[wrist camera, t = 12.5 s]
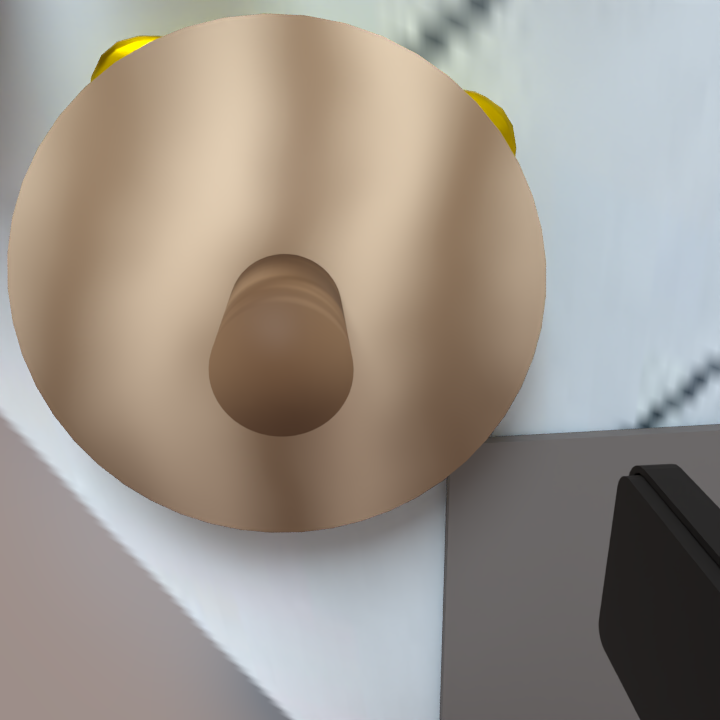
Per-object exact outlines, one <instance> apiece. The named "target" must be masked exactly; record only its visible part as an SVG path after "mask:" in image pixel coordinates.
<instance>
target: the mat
mask: <svg viewBox="0 0 720 720" xmlns="http://www.w3.org/2000/svg"><path fill="white" fill-rule="evenodd" d="M656 464H676V465H678V466H679V467H680V468H682V470H683V471H684V472H685V473H686V474H687V475H688V476H689V477H690V478H691V479H692V480H693V481H694V482H695V483H696V484H697V485H698V486H699V487H700V488H701V489H702V490H703V491H704V492H705V493H706V495H707V496H708V497H709V498H710V499H711V500H712V501H713V502H714V503H715V504H716V505H717V506H718V507H719V508H720V424H715V425H697V426H680V427H662V428H644V429H626V430H608V431H590V432H572V433H554V434H536V435H518V436H500V437H488V439H487V440H486V441H485V442H484V443H483V444H482V445H481V446H480V447H479V448H478V449H477V450H476V451H475V452H474V454H473V455H472V456H471V457H470V458H469V459H468V460H467V461H466V462H465V463H463V464H462V465H461V466H460V467H459V468H457V469H456V470H455V471H454V472H453V473H451V474H450V475H449V476H448V477H447V498H446V530H445V563H444V595H443V628H442V660H441V692H440V720H640V719H639V717H638V715H637V713H636V711H635V709H634V707H633V705H632V703H631V701H630V699H629V697H628V695H627V693H626V691H625V689H624V688H623V686H622V684H621V682H620V680H619V678H618V676H617V674H616V672H615V670H614V668H613V666H612V664H611V662H610V660H609V658H608V656H607V654H606V653H605V651H604V648H603V646H602V643H601V640H600V635H599V626H598V624H599V614H600V607H601V600H602V593H603V586H604V578H605V571H606V564H607V557H608V550H609V543H610V535H611V528H612V521H613V514H614V507H615V499H616V492H617V486H618V481H619V480H620V478H621V477H622V476H629V473H630V471H631V469H632V468H633V467H634V466H636V465H656Z"/></svg>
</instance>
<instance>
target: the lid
mask: <svg viewBox="0 0 720 720" xmlns="http://www.w3.org/2000/svg"><path fill="white" fill-rule="evenodd" d="M7 254H8V293H9V299H10V306H11V313H12V319H13V324H14V328H15V331H16V335H17V338H18V341H19V345H20V348H21V352H22V355H23V358H24V360H25V362H26V364H27V367H28V369H29V371H30V373H31V376H32V378H33V380H34V382H35V384H36V387H37V388H38V390H39V392H40V393H41V395H42V397H43V398H44V400H45V402H46V403H47V405H48V406H49V408H50V410H51V411H52V413H53V415H54V416H55V417H56V419H57V420H58V421H59V422H60V424H61V425H62V426H63V427H64V429H65V430H66V431H67V432H68V434H69V435H70V436H71V437H72V439H73V440H74V441H75V442H76V443H77V444H78V445H79V446H80V447H81V448H82V449H83V450H84V451H85V452H86V453H87V454H88V455H89V456H90V457H91V458H92V459H93V460H94V461H95V462H96V463H97V464H98V465H100V466H101V467H102V468H104V469H105V470H106V471H107V472H109V473H110V474H111V475H113V476H114V477H115V478H116V479H118V480H119V481H120V482H122V483H123V484H124V485H126V486H128V487H129V488H131V489H133V490H134V491H136V492H138V493H139V494H141V495H143V496H144V497H146V498H148V499H149V500H151V501H153V502H156V503H158V504H160V505H162V506H164V507H167V508H169V509H171V510H173V511H175V512H178V513H180V514H183V515H186V516H189V517H192V518H195V519H198V520H201V521H204V522H207V523H211V524H216V525H220V526H225V527H230V528H235V529H240V530H250V531H261V532H305V531H313V530H321V529H329V528H335V527H339V526H343V525H347V524H351V523H355V522H359V521H363V520H366V519H368V518H371V517H374V516H377V515H379V514H382V513H385V512H388V511H390V510H392V509H394V508H396V507H398V506H400V505H402V504H404V503H406V502H409V501H411V500H413V499H415V498H417V497H418V496H420V495H421V494H423V493H424V492H426V491H428V490H429V489H431V488H432V487H434V486H435V485H437V484H438V483H440V482H441V481H443V480H444V479H445V478H447V477H448V476H449V475H450V474H451V473H453V472H454V471H455V470H456V469H457V468H459V467H460V466H461V465H462V464H463V463H465V462H466V461H467V460H468V459H469V458H470V457H471V456H472V455H473V454H474V452H475V451H476V450H477V449H478V448H479V447H480V446H481V445H482V444H483V443H484V442H485V441H486V440H487V439H488V437H489V436H490V435H491V433H492V432H493V431H494V429H495V428H496V427H497V425H498V424H499V423H500V421H501V420H502V419H503V417H504V416H505V415H506V413H507V411H508V409H509V408H510V406H511V404H512V402H513V401H514V399H515V397H516V395H517V394H518V392H519V390H520V388H521V386H522V384H523V381H524V379H525V377H526V374H527V372H528V369H529V367H530V365H531V362H532V360H533V357H534V353H535V349H536V346H537V342H538V338H539V335H540V331H541V327H542V320H543V313H544V305H545V298H546V259H545V251H544V243H543V236H542V229H541V225H540V221H539V217H538V214H537V210H536V206H535V203H534V199H533V195H532V193H531V191H530V188H529V186H528V184H527V181H526V179H525V176H524V174H523V172H522V169H521V167H520V165H519V163H518V161H517V159H516V157H515V156H514V154H513V152H512V151H511V149H510V147H509V146H508V144H507V142H506V141H505V139H504V137H503V136H502V134H501V132H500V131H499V130H498V128H497V127H496V126H495V125H494V123H493V122H492V121H491V120H490V118H489V117H488V116H487V115H486V113H485V112H484V111H483V110H482V108H481V107H480V106H479V105H478V103H477V102H476V101H474V100H473V99H472V98H471V97H470V96H469V95H468V94H467V93H466V92H465V91H464V90H463V89H462V88H461V87H460V86H459V85H458V84H456V83H455V82H454V81H453V80H452V79H451V78H450V77H449V76H448V75H446V74H445V73H443V72H442V71H440V70H439V69H438V68H436V67H435V66H433V65H432V64H431V63H429V62H428V61H426V60H425V59H424V58H422V57H421V56H419V55H418V54H416V53H414V52H412V51H410V50H408V49H406V48H404V47H402V46H400V45H399V44H397V43H395V42H393V41H391V40H389V39H387V38H385V37H383V36H380V35H377V34H374V33H372V32H369V31H366V30H363V29H360V28H357V27H354V26H352V25H349V24H346V23H341V22H336V21H331V20H326V19H321V18H315V17H310V16H304V15H284V14H256V15H245V16H235V17H225V18H221V19H217V20H213V21H209V22H205V23H201V24H196V25H192V26H188V27H185V28H182V29H180V30H178V31H175V32H173V33H170V34H168V35H165V36H163V37H161V38H158V39H156V40H153V41H151V42H148V43H147V44H145V45H143V46H142V47H140V48H138V49H137V50H135V51H133V52H132V53H130V54H128V55H127V56H125V57H123V58H122V59H120V60H118V61H117V62H115V63H114V64H112V65H111V66H110V67H109V68H108V69H106V70H105V71H104V72H103V73H102V74H100V75H99V76H98V77H97V78H96V79H94V80H93V81H92V82H91V83H89V84H88V85H87V86H86V87H85V88H84V89H83V90H82V91H81V92H80V93H79V94H78V95H77V97H76V98H75V99H74V100H73V101H72V102H71V103H70V104H69V105H68V107H67V108H66V109H65V110H64V111H63V112H62V113H61V114H60V116H59V117H58V118H57V120H56V121H55V123H54V124H53V126H52V127H51V129H50V130H49V132H48V134H47V135H46V137H45V138H44V140H43V141H42V143H41V144H40V146H39V147H38V149H37V151H36V153H35V156H34V158H33V160H32V162H31V164H30V167H29V169H28V171H27V173H26V175H25V178H24V180H23V182H22V185H21V189H20V192H19V196H18V199H17V203H16V206H15V210H14V213H13V217H12V223H11V231H10V238H9V245H8V253H7Z"/></svg>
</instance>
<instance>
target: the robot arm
mask: <svg viewBox="0 0 720 720" xmlns="http://www.w3.org/2000/svg"><path fill="white" fill-rule="evenodd" d="M598 626H599V635H600V640H601V643H602V646H603V648H604V651H605V653H606V654H607V656H608V658H609V660H610V662H611V664H612V666H613V668H614V670H615V672H616V674H617V676H618V678H619V680H620V682H621V684H622V686H623V688H624V689H625V691H626V693H627V695H628V697H629V699H630V701H631V703H632V705H633V707H634V709H635V711H636V713H637V715H638V717H639V719H640V720H720V508H719V507H718V506H717V505H716V504H715V503H714V502H713V501H712V500H711V499H710V498H709V497H708V496H707V495H706V493H705V492H704V491H703V490H702V489H701V488H700V487H699V486H698V485H697V484H696V483H695V482H694V481H693V480H692V479H691V478H690V477H689V476H688V475H687V474H686V473H685V472H684V471H683V470H682V468H680V467H679V466H678V465H676V464H656V465H636V466H634V467H633V468H632V469H631V471H630V473H629V476H622V477H621V478H620V480H619V481H618V486H617V492H616V499H615V507H614V514H613V521H612V528H611V535H610V543H609V550H608V557H607V564H606V571H605V578H604V586H603V593H602V600H601V607H600V614H599V624H598Z"/></svg>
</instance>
